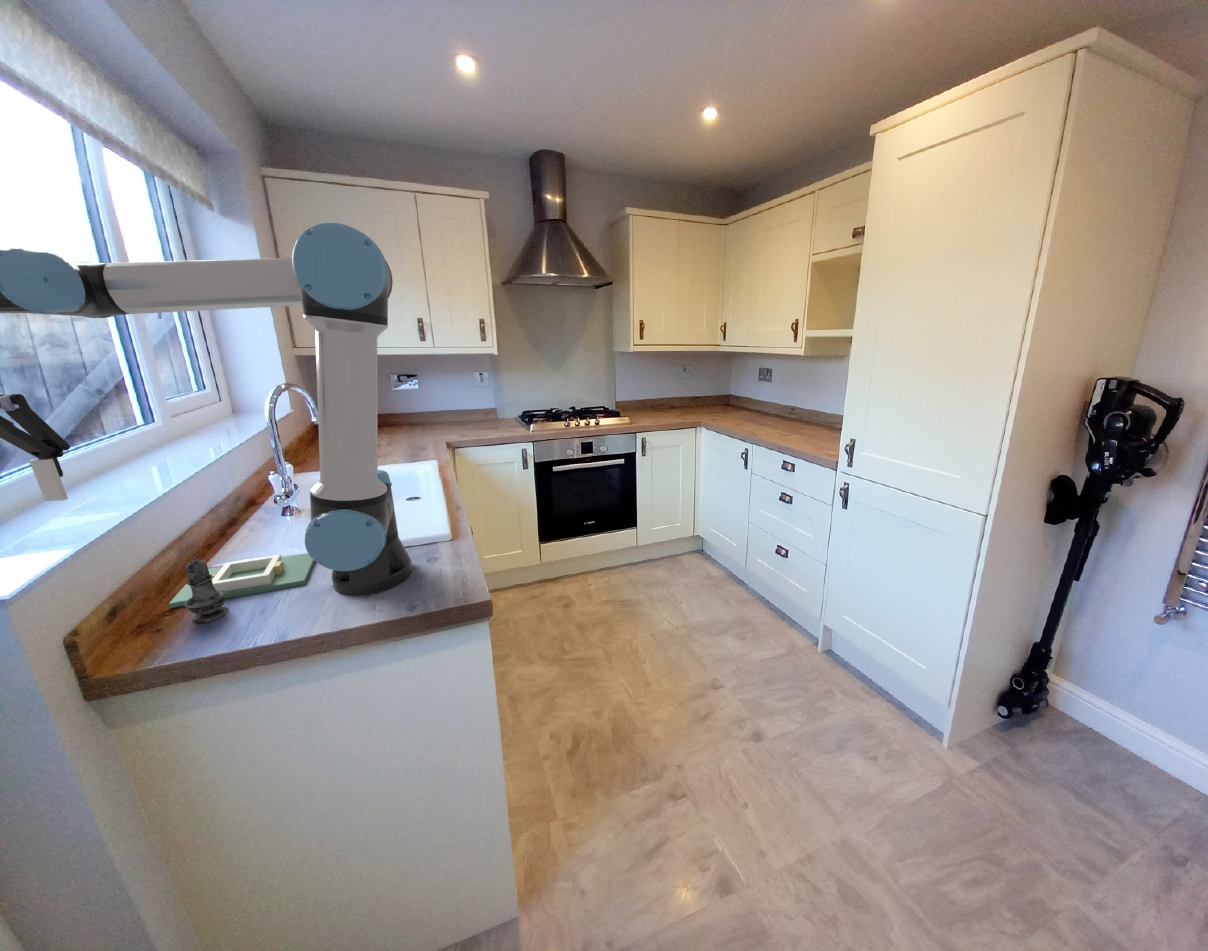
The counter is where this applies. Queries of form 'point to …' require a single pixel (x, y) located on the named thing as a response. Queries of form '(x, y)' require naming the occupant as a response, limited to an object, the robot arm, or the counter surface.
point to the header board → (255, 576)
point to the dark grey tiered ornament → (204, 594)
